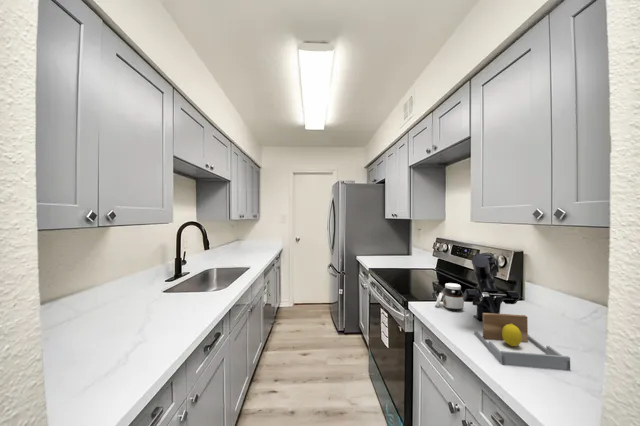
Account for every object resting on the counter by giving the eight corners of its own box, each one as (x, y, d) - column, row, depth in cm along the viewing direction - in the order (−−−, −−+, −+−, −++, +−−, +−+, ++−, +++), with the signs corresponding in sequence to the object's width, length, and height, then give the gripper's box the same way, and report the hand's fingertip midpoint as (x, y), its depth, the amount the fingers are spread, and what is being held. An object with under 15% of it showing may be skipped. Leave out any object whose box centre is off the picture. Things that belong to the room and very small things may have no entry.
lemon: (502, 341, 95) (502, 319, 95) (522, 346, 91) (521, 323, 92) (501, 347, 91) (501, 324, 91) (521, 352, 87) (521, 328, 87)
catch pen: (474, 334, 101) (474, 324, 101) (527, 338, 97) (527, 327, 97) (502, 365, 80) (501, 352, 80) (570, 371, 77) (570, 357, 77)
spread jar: (466, 312, 123) (466, 287, 123) (442, 312, 123) (441, 287, 123) (454, 304, 135) (453, 281, 135) (431, 304, 135) (431, 281, 135)
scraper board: (482, 337, 98) (482, 312, 98) (525, 340, 95) (524, 315, 95) (484, 339, 96) (484, 314, 96) (527, 342, 94) (527, 316, 94)
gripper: (502, 291, 112) (517, 328, 101) (455, 289, 116) (464, 324, 105) (512, 277, 104) (529, 316, 94) (462, 275, 108) (472, 312, 97)
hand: (497, 317), depth 97 cm, fingers closed
